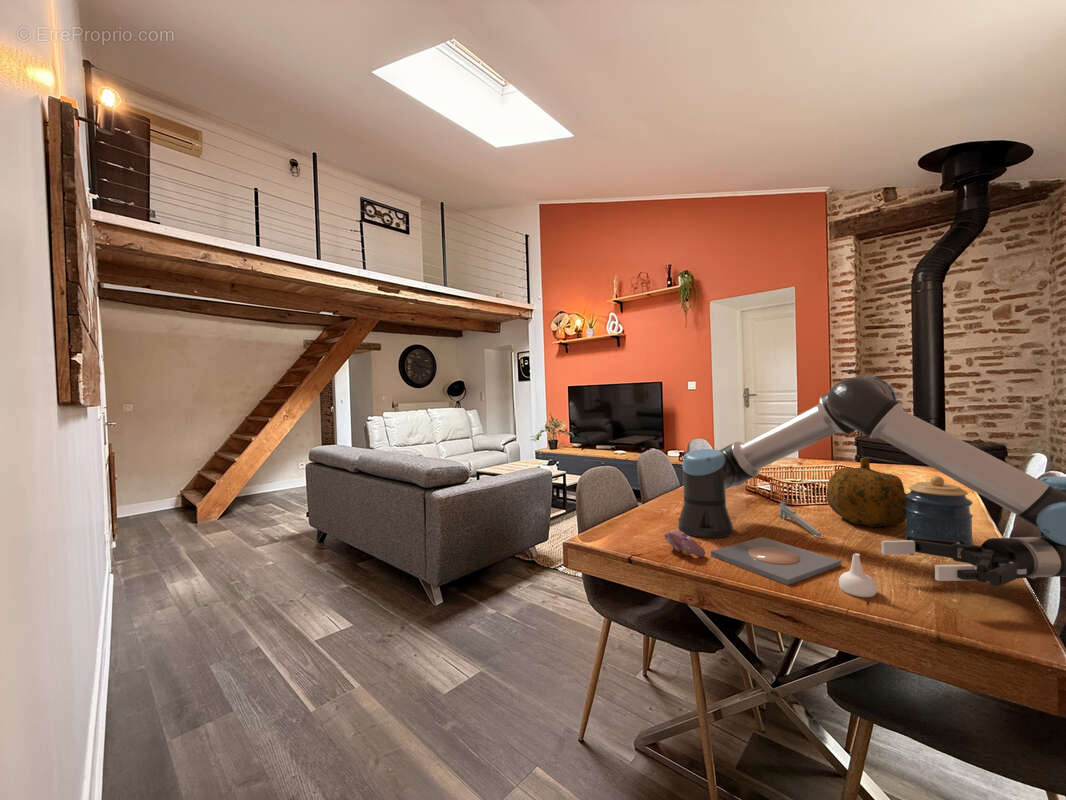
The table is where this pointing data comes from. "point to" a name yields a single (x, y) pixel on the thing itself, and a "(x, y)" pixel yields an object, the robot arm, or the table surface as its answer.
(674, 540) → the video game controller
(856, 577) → the garlic bulb
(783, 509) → the caliper
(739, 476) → the robot arm
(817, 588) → the table surface
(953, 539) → the canister
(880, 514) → the decorative pumpkin
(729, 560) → the slate board
